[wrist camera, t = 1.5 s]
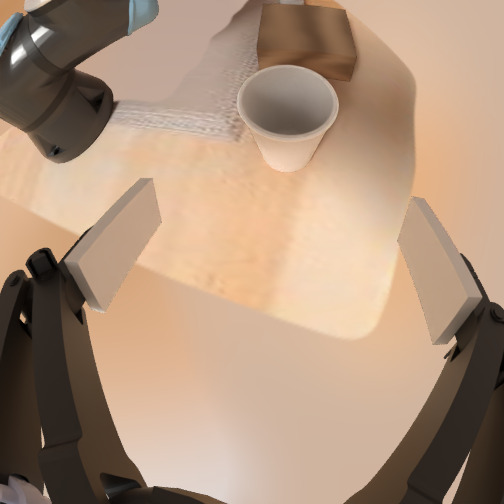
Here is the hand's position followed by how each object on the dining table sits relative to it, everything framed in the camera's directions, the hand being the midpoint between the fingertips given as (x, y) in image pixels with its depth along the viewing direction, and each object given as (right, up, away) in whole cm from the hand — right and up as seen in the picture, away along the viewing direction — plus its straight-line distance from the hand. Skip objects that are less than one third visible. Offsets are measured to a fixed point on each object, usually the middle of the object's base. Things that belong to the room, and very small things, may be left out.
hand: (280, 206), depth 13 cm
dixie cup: (+3, +9, +16) cm, 19 cm away
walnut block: (+6, +27, +17) cm, 33 cm away
